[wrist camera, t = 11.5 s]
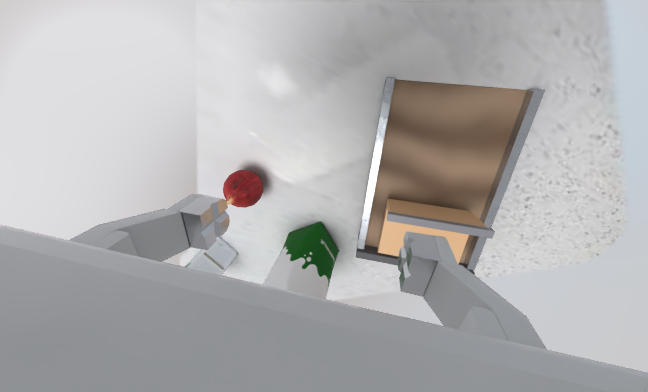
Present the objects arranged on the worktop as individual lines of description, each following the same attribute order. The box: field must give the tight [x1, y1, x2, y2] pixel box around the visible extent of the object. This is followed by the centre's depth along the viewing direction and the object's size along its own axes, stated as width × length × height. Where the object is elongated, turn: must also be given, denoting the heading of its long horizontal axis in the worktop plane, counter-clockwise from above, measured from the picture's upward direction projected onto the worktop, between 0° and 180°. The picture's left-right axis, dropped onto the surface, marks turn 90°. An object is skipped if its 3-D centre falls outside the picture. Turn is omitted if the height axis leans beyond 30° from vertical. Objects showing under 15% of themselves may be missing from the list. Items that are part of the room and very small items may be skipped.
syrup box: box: [185, 236, 237, 275], centre depth 43 cm, size 6×6×14 cm
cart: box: [378, 199, 495, 264], centre depth 31 cm, size 9×12×7 cm
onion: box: [223, 170, 263, 207], centre depth 36 cm, size 6×6×8 cm
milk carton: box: [263, 222, 339, 299], centre depth 35 cm, size 9×9×20 cm
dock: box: [356, 77, 545, 275], centre depth 32 cm, size 25×17×6 cm
